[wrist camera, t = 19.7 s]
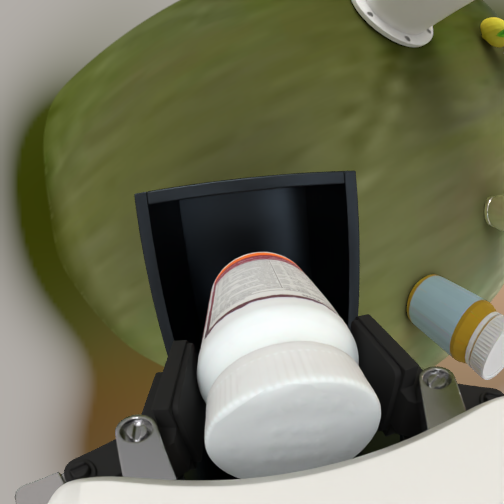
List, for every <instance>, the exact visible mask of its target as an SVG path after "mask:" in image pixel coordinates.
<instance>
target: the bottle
mask: <svg viewBox="0 0 504 504" xmlns="http://www.w3.org/2000/svg"><path fill="white" fill-rule="evenodd" d="M407 315H408V318H409V319H410V321H411V322H412V323H413V324H414V325H415V326H417V327H418V328H419V329H420V330H421V331H423V332H424V333H425V334H426V335H427V336H428V337H430V338H431V339H432V340H433V341H434V342H435V343H437V344H438V345H439V346H440V347H441V348H442V349H444V350H445V351H446V352H447V353H448V354H449V355H450V356H452V357H453V358H454V359H455V360H457V361H459V362H463V363H466V364H468V365H469V366H470V367H471V368H472V369H473V370H474V371H475V372H476V373H477V374H478V375H480V376H481V377H482V378H483V379H486V380H489V379H491V378H493V377H495V376H496V375H497V374H498V373H499V372H500V371H501V370H502V369H503V368H504V316H503V315H502V314H500V313H498V312H497V311H496V310H495V308H494V307H493V305H491V303H490V302H488V301H487V300H485V299H483V298H481V297H479V296H477V295H476V294H474V293H472V292H470V291H468V290H466V289H464V288H462V287H461V286H459V285H457V284H455V283H453V282H451V281H449V280H447V279H445V278H443V277H441V276H438V275H435V274H431V275H428V276H425V277H424V278H422V279H421V280H420V281H419V282H418V283H417V284H416V285H415V286H414V287H413V289H412V291H411V292H410V295H409V298H408V302H407Z"/></svg>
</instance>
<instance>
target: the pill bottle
mask: <svg viewBox="0 0 504 504" xmlns="http://www.w3.org/2000/svg"><path fill="white" fill-rule="evenodd" d="M197 381H198V387H199V390H200V393H201V395H202V398H203V400H204V401H205V403H206V421H205V436H204V440H205V448H206V451H207V454H208V455H209V457H210V458H211V460H212V461H213V462H214V463H215V464H216V465H217V466H218V467H219V468H220V469H222V470H223V471H225V472H226V473H228V474H230V475H232V476H234V477H237V478H240V479H247V478H257V477H266V476H273V475H280V474H287V473H293V472H298V471H304V470H309V469H313V468H318V467H322V466H327V465H331V464H335V463H338V462H342V461H346V460H349V459H352V458H354V457H355V456H356V455H357V454H358V453H360V452H361V451H362V450H363V449H364V448H365V447H366V445H367V444H368V443H369V442H370V441H371V439H372V438H373V436H374V435H375V433H376V431H377V429H378V426H379V424H380V420H381V405H380V402H379V399H378V397H377V395H376V393H375V392H374V390H373V388H372V387H371V385H370V384H369V382H368V381H367V379H366V378H365V376H364V374H363V372H362V370H361V369H360V367H359V355H358V349H357V345H356V342H355V340H354V337H353V336H352V334H351V332H350V330H349V329H348V327H347V325H346V324H345V322H344V321H343V319H342V318H341V317H340V316H339V315H338V313H337V312H336V310H335V309H334V308H333V306H332V305H331V304H330V303H329V301H328V300H327V299H326V298H325V296H324V295H323V294H322V293H321V292H320V291H319V289H318V288H317V287H316V286H315V285H314V284H313V282H312V281H311V280H310V279H309V278H308V276H307V275H306V274H305V273H304V272H303V271H302V270H301V269H300V268H299V267H298V266H297V265H296V264H295V263H294V262H293V261H291V260H290V259H288V258H286V257H284V256H282V255H279V254H276V253H271V252H254V253H249V254H245V255H243V256H240V257H238V258H236V259H234V260H233V261H231V262H230V263H229V264H228V265H226V266H225V267H224V268H223V269H222V271H221V272H220V273H219V275H218V276H217V278H216V280H215V282H214V284H213V287H212V290H211V295H210V299H209V304H208V310H207V316H206V322H205V327H204V332H203V338H202V343H201V347H200V351H199V355H198V362H197Z"/></svg>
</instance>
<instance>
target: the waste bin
mask: <svg viewBox="0 0 504 504" xmlns="http://www.w3.org/2000/svg"><path fill="white" fill-rule="evenodd" d="M134 195H135V203H136V211H137V218H138V224H139V231H140V237H141V243H142V248H143V254H144V259H145V264H146V269H147V274H148V279H149V284H150V288H151V293H152V297H153V302H154V306H155V310H156V314H157V318H158V322H159V326H160V330H161V333H162V337H163V341H164V344H165V348H166V351H167V355H169V352H170V349H171V347H172V344H173V341H181V340H188V342H189V343H193V345H194V348H195V352H196V356H197V360H198V355H199V351H200V347H201V343H202V338H203V332H204V327H205V322H206V316H207V310H208V304H209V299H210V295H211V290H212V287H213V284H214V282H215V280H216V278H217V276H218V275H219V273H220V272H221V271H222V269H223V268H224V267H225V266H226V265H228V264H229V263H230V262H231V261H233V260H234V259H236V258H238V257H240V256H243V255H245V254H249V253H254V252H271V253H276V254H279V255H282V256H284V257H286V258H288V259H290V260H291V261H293V262H294V263H295V264H296V265H297V266H298V267H299V268H300V269H301V270H302V271H303V272H304V273H305V274H306V275H307V276H308V278H309V279H310V280H311V281H312V282H313V284H314V285H315V286H316V287H317V288H318V289H319V291H320V292H321V293H322V294H323V295H324V296H325V298H326V299H327V300H328V301H329V303H330V304H331V305H332V306H333V308H334V309H335V310H336V312H337V313H338V315H339V316H340V317H341V318H342V319H343V321H344V322H345V324H346V325H347V327H348V329H349V330H350V332H351V322H352V321H355V318H356V317H358V306H359V217H358V198H357V184H356V172H355V171H332V172H312V173H296V174H283V175H271V176H260V177H250V178H240V179H231V180H223V181H214V182H207V183H199V184H192V185H185V186H179V187H172V188H166V189H160V190H154V191H148V192H142V193H137V194H134Z"/></svg>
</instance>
